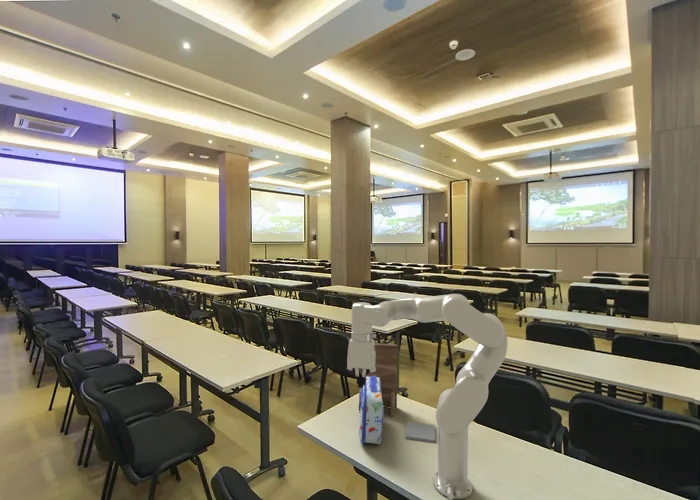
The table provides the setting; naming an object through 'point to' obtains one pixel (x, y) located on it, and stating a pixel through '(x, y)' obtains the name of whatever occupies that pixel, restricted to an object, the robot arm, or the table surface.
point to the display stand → (386, 374)
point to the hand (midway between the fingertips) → (361, 386)
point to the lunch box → (371, 411)
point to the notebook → (420, 432)
